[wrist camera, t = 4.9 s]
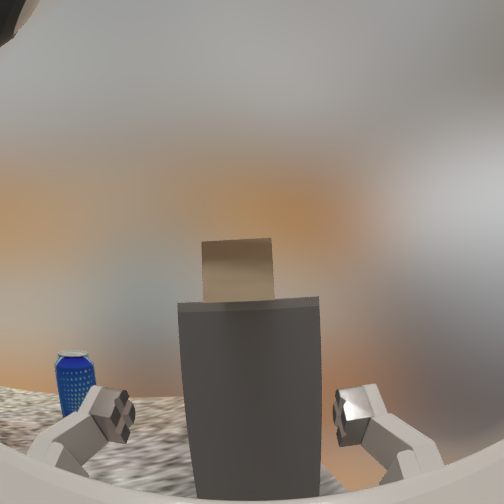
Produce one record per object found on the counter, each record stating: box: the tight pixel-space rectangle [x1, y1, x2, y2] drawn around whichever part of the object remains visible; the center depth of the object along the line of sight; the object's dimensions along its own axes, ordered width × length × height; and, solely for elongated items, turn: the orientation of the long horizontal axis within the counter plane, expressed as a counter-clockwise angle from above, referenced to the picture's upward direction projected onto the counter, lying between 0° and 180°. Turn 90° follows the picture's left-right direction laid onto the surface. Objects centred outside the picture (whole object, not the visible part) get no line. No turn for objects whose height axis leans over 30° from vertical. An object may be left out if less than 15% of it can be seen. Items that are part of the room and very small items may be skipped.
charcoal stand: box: [178, 297, 322, 501], centre depth 30 cm, size 14×12×26 cm
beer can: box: [55, 350, 96, 418], centre depth 48 cm, size 8×8×16 cm
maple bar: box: [202, 238, 275, 303], centre depth 29 cm, size 24×4×4 cm, turn 178°
